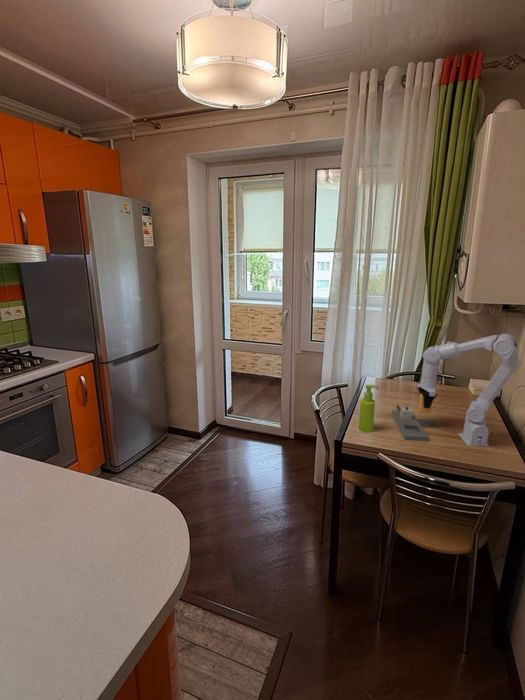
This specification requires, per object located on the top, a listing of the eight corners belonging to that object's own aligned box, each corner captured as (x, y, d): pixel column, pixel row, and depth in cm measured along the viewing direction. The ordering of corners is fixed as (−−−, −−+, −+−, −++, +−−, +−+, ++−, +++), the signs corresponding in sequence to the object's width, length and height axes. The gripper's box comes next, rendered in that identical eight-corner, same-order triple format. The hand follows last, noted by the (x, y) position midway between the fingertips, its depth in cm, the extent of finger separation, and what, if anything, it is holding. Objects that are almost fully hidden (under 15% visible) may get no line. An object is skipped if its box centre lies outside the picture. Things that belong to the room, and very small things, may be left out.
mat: (440, 428, 158) (441, 428, 158) (421, 427, 159) (421, 427, 159) (434, 420, 166) (434, 419, 166) (416, 419, 167) (416, 418, 166)
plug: (430, 412, 156) (432, 395, 153) (420, 412, 156) (422, 394, 154) (427, 408, 159) (430, 391, 157) (418, 408, 160) (420, 391, 158)
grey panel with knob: (427, 441, 148) (429, 426, 146) (404, 440, 149) (406, 424, 147) (407, 408, 178) (408, 394, 176) (387, 407, 179) (389, 393, 177)
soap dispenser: (375, 433, 154) (379, 388, 149) (358, 431, 156) (362, 387, 150) (374, 426, 160) (378, 383, 154) (358, 425, 161) (361, 382, 156)
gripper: (414, 369, 161) (411, 398, 164) (423, 381, 147) (420, 412, 151) (431, 370, 160) (427, 399, 164) (442, 382, 146) (438, 413, 150)
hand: (425, 405), depth 157 cm, fingers closed on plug, 4 cm apart
